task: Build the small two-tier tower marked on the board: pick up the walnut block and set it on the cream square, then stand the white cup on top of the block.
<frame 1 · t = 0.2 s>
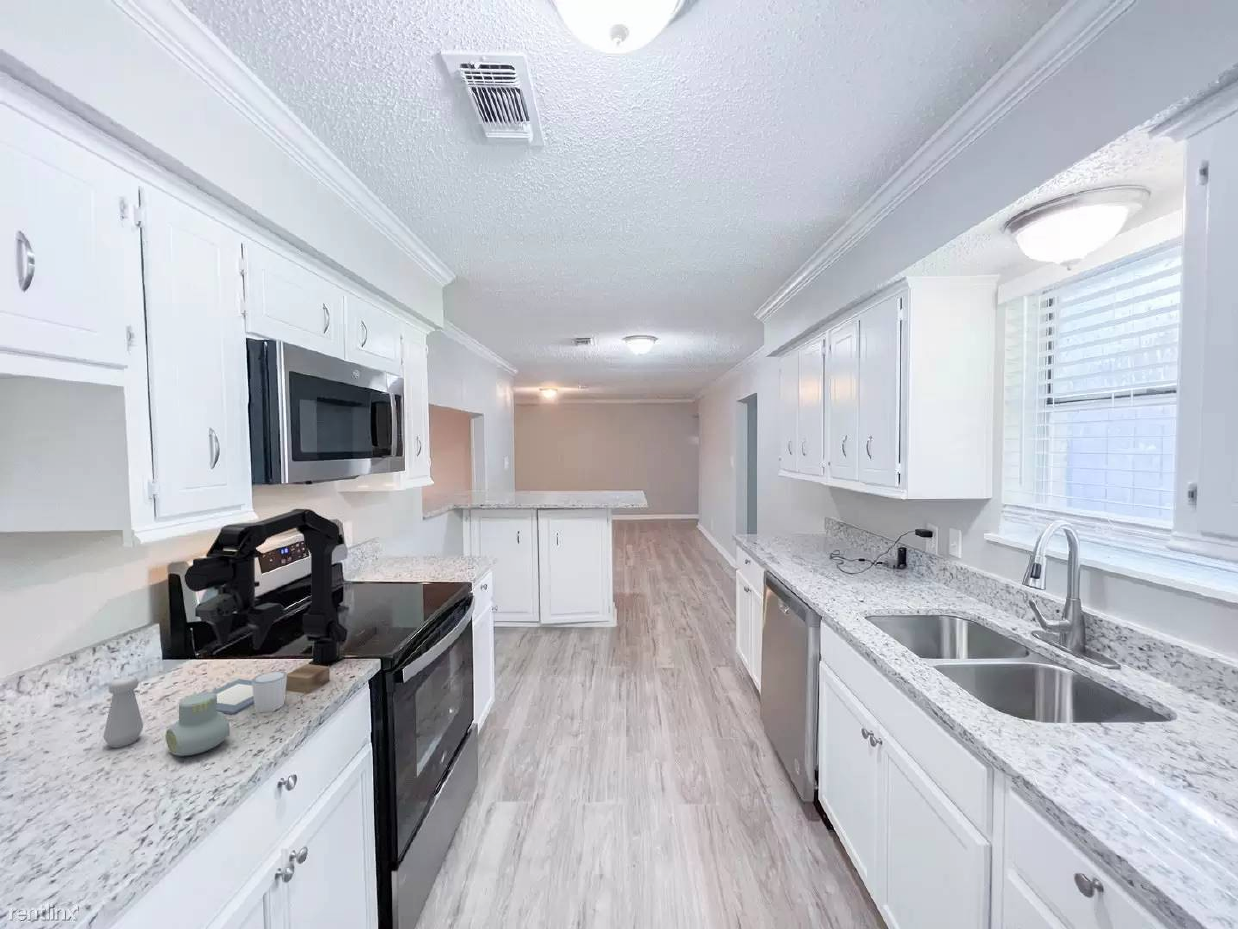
hand: (240, 647, 119), 14 cm above the worktop, tool pointing down, fingers open, 9 cm apart
salt shaker: (123, 743, 105), on the worktop
air freshener: (198, 748, 103), on the worktop
walnut block: (307, 686, 131), on the worktop
white cup: (269, 707, 120), on the worktop
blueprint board: (236, 696, 124), on the worktop
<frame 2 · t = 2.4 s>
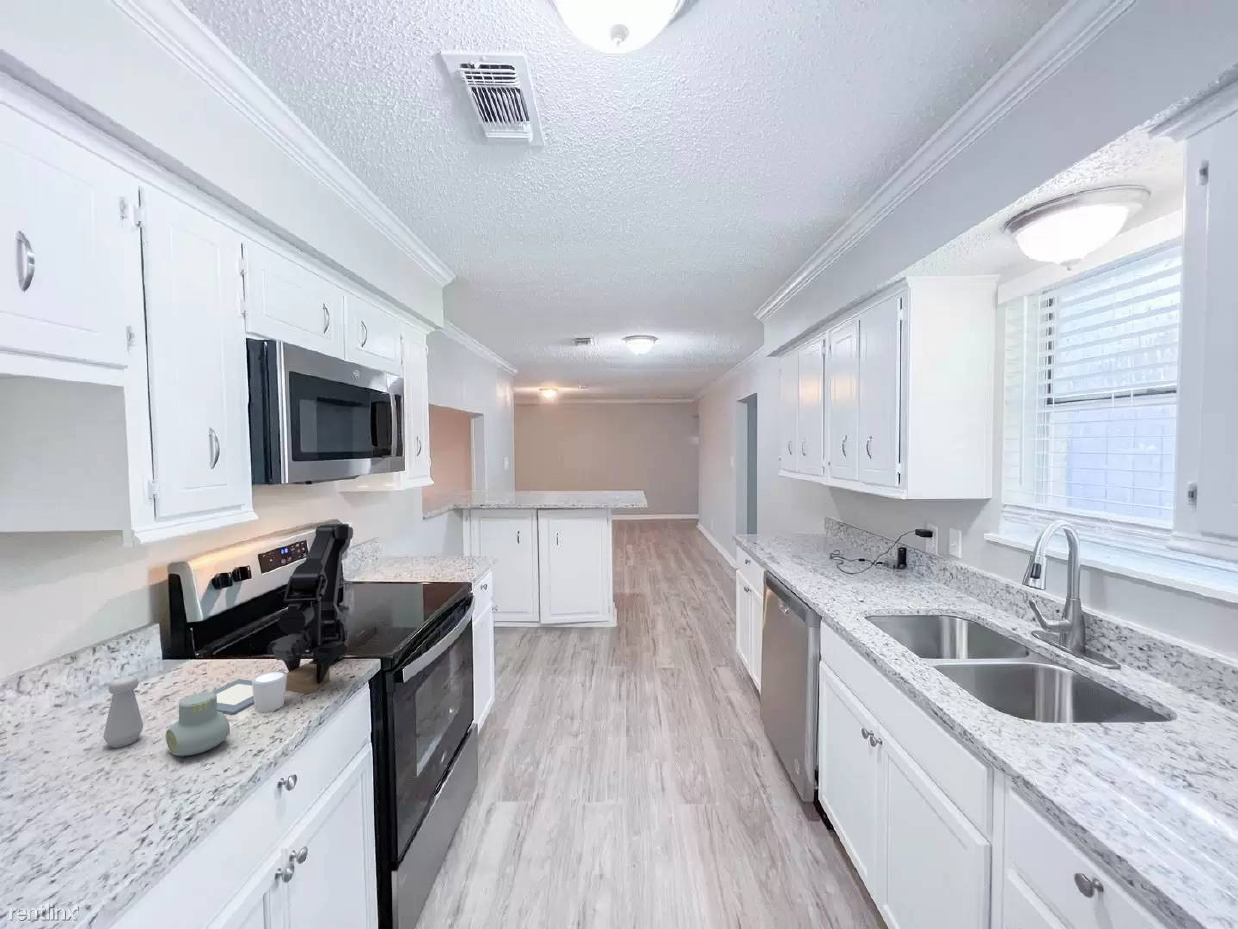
hand: (307, 681, 131), 1 cm above the worktop, tool pointing down, fingers closed on walnut block, 7 cm apart
walnut block: (307, 685, 131), on the worktop, touching gripper
everything else where it was.
when the fingers open (3 cm above the worktop, at t = 6.8 s): walnut block drops 1 cm, resting on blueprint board.
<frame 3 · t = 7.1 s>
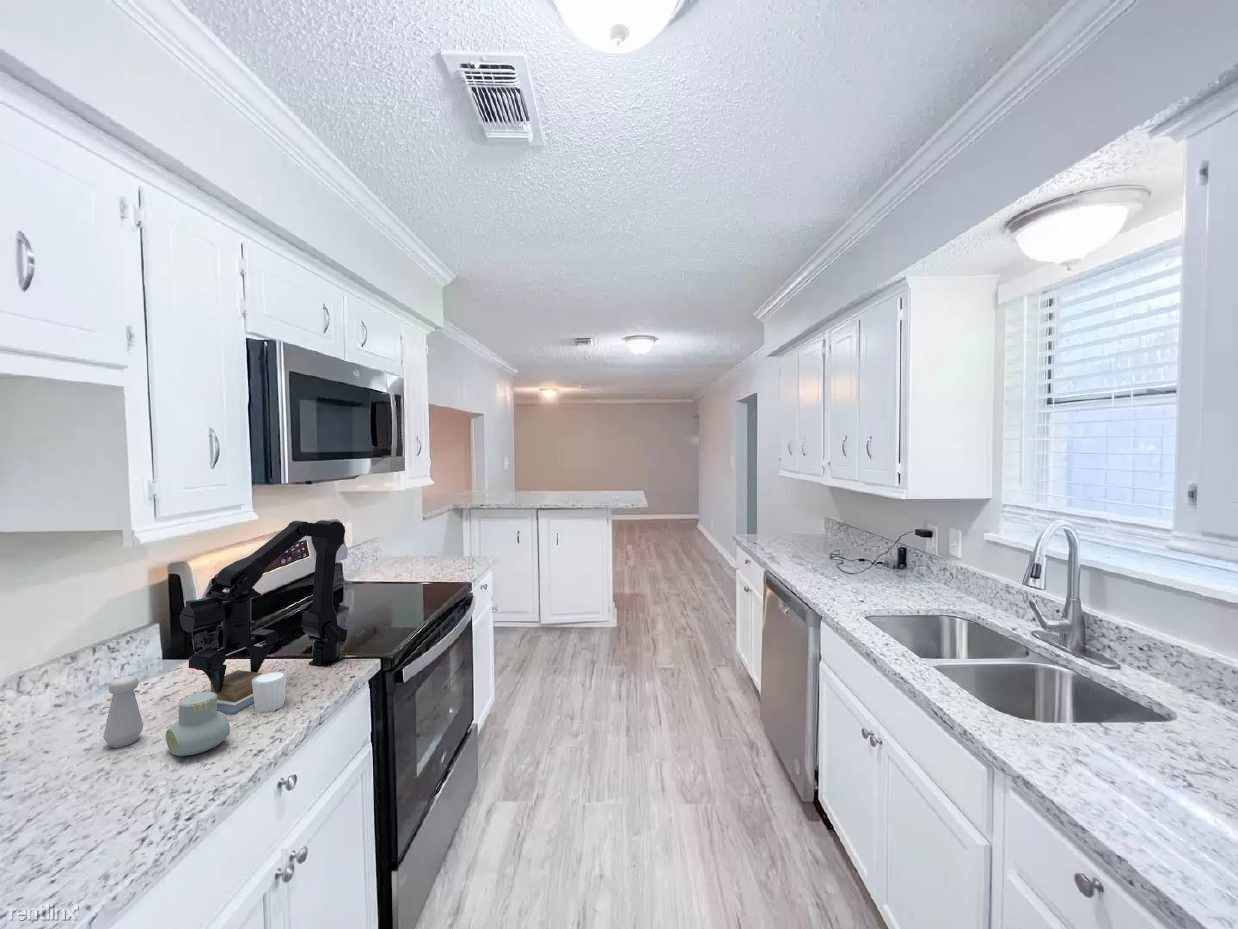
hand: (236, 683, 124), 3 cm above the worktop, tool pointing down, fingers open, 9 cm apart
walnut block: (236, 694, 124), point 1 cm above the worktop, touching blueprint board
everything else where it was.
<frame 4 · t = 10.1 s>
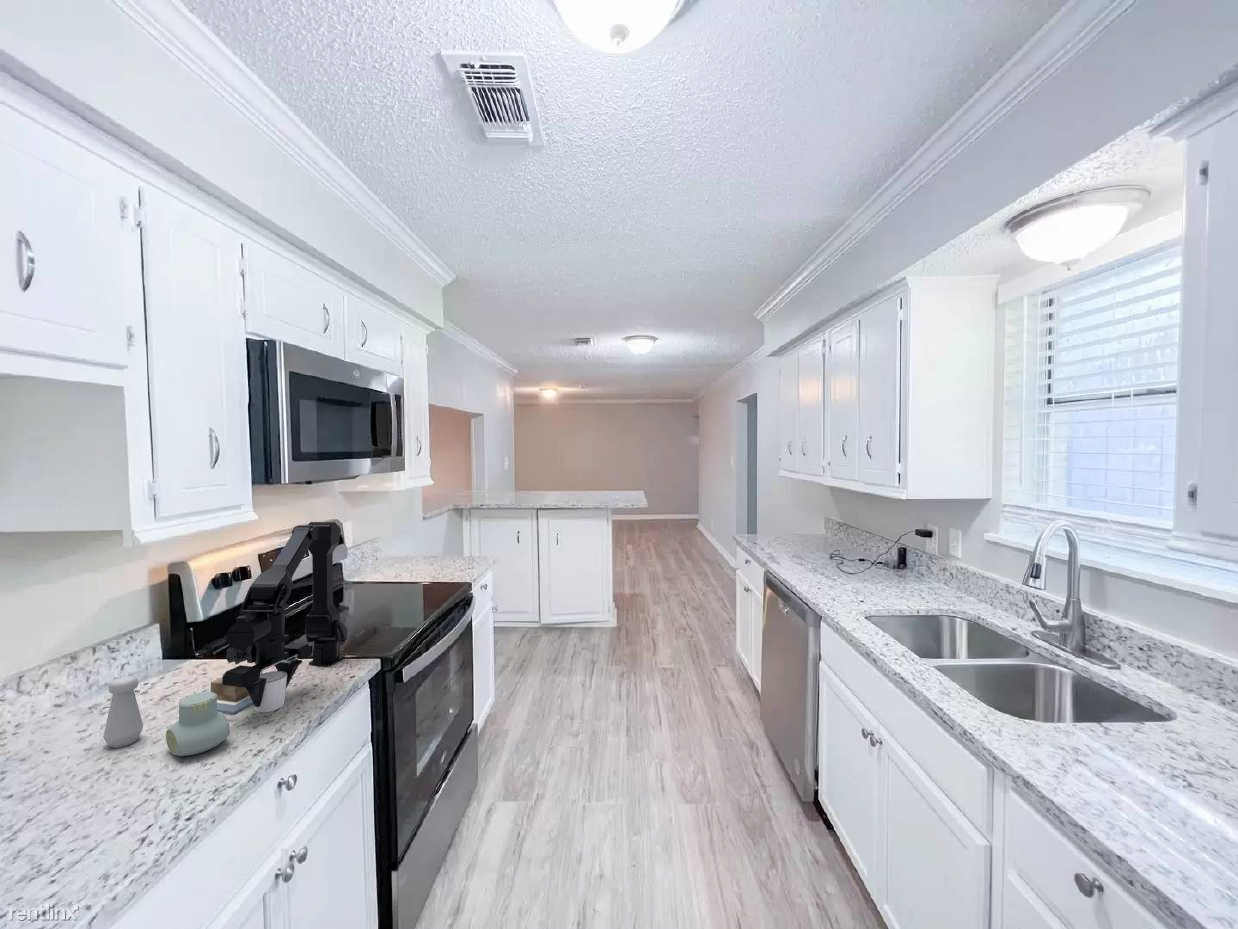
hand: (269, 700, 120), 2 cm above the worktop, tool pointing down, fingers closed on white cup, 6 cm apart
white cup: (269, 707, 120), on the worktop, touching gripper
everything else where it was.
when the fingers open (8 cm above the worktop, at t = 13.6 s): white cup drops 1 cm, resting on walnut block.
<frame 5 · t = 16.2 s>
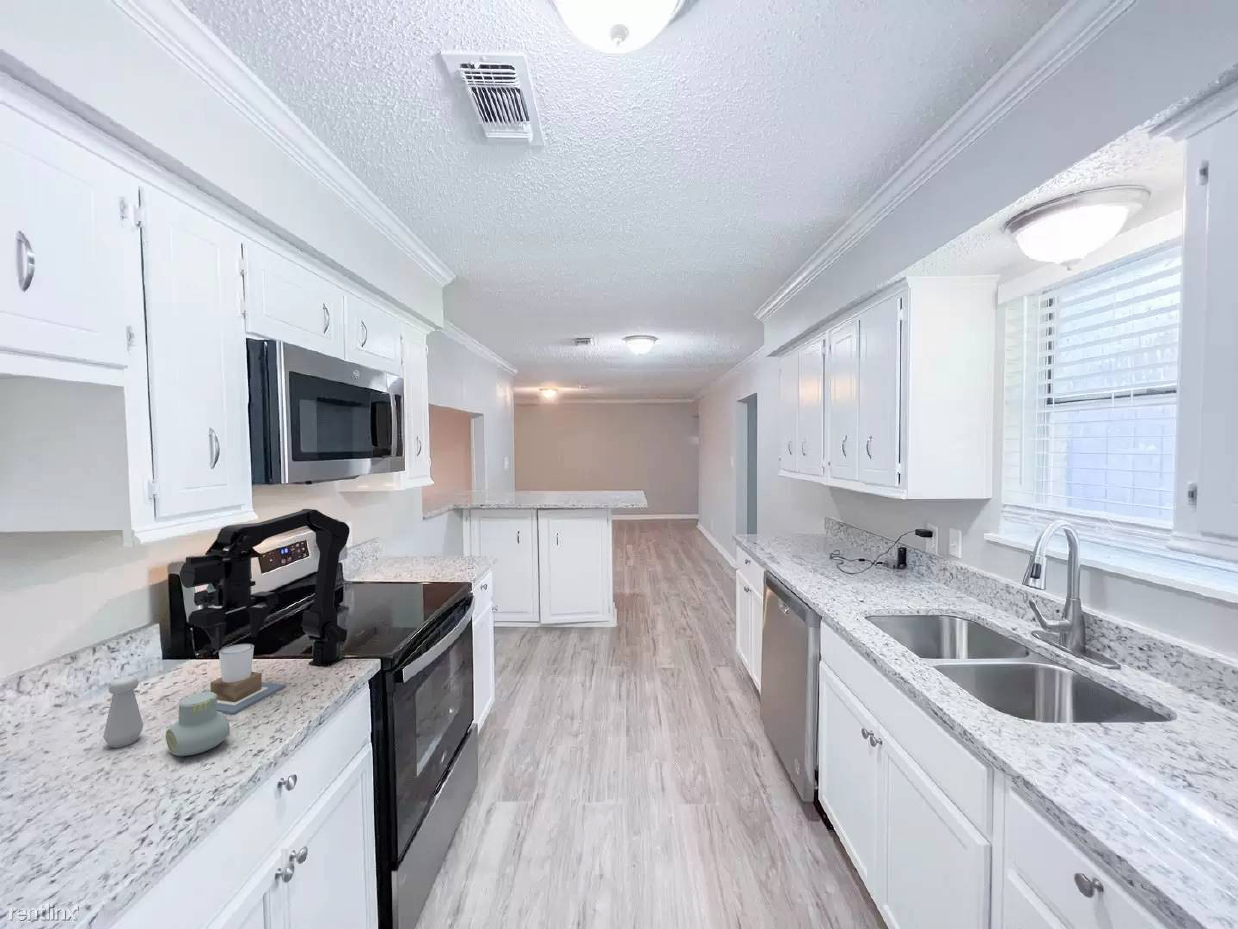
hand: (236, 643, 124), 13 cm above the worktop, tool pointing down, fingers open, 9 cm apart
walnut block: (236, 694, 124), point 1 cm above the worktop, touching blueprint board, white cup
white cup: (236, 678, 124), point 4 cm above the worktop, touching walnut block
everything else where it was.
at the end: walnut block 0.0 cm off-centre on the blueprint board, point 0.7 cm above the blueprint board's base; white cup 0.1 cm off-centre on the walnut block, point 3.8 cm above the walnut block's base; white cup tilted 0° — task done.
